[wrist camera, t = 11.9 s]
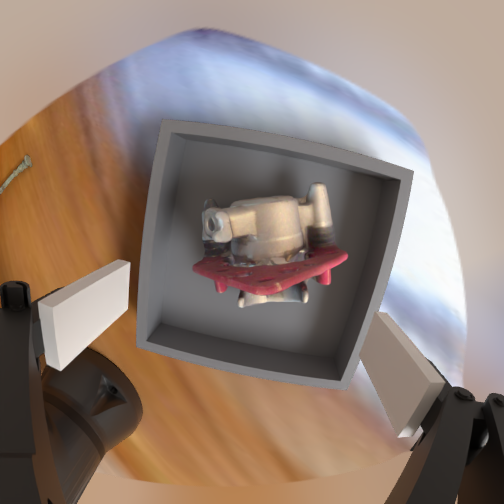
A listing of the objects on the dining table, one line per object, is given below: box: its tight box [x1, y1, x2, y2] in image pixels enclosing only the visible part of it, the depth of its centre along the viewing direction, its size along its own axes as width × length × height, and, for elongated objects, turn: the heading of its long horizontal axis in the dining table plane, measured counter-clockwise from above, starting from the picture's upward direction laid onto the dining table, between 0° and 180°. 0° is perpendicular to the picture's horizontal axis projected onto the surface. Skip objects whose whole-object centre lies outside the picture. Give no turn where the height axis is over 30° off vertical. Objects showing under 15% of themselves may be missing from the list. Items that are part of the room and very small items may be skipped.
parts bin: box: [136, 119, 414, 390], centre depth 25 cm, size 20×20×5 cm
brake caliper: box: [192, 182, 348, 308], centre depth 22 cm, size 11×11×12 cm
